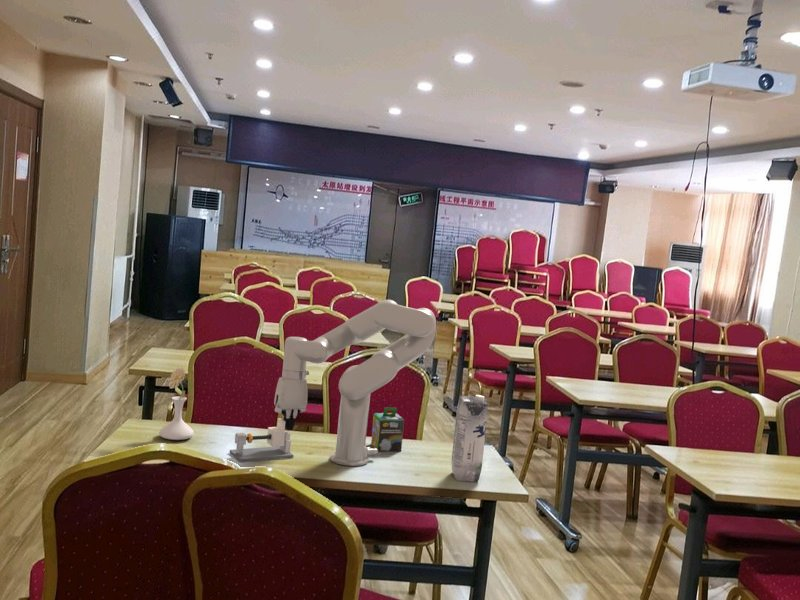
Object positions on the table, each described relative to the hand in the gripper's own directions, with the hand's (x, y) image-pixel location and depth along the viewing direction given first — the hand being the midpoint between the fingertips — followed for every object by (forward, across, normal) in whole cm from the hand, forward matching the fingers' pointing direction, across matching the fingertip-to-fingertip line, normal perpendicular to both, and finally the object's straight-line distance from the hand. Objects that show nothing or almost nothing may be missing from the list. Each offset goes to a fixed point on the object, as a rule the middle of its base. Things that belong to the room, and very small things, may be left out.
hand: (288, 429), depth 242 cm
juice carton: (+8, -46, +37) cm, 60 cm away
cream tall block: (+5, +4, 0) cm, 6 cm away
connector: (+7, +16, 0) cm, 18 cm away
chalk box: (+8, -37, +2) cm, 38 cm away
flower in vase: (+9, +30, -24) cm, 39 cm away
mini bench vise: (+8, +9, 0) cm, 12 cm away
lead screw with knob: (+4, +8, 0) cm, 9 cm away
